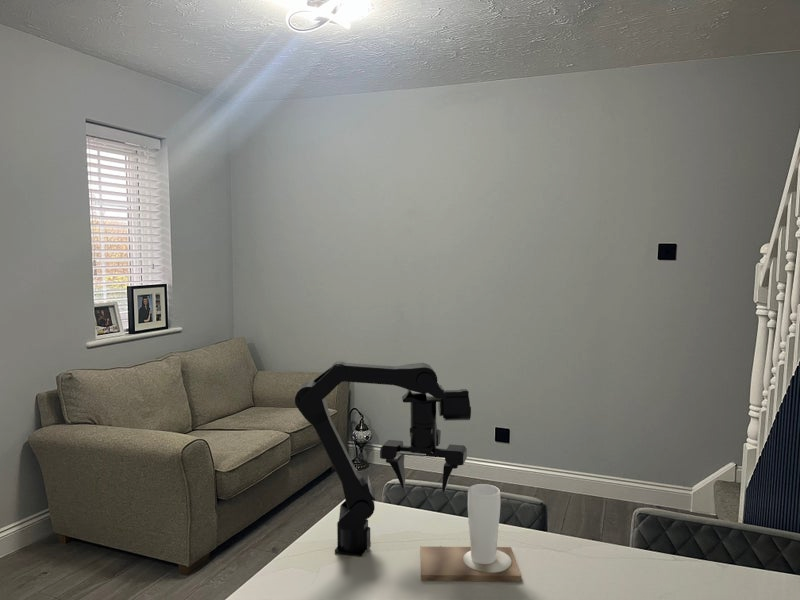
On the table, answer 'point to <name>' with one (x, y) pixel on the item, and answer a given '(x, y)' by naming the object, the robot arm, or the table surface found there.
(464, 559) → the walnut board
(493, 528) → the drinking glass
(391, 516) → the table surface
